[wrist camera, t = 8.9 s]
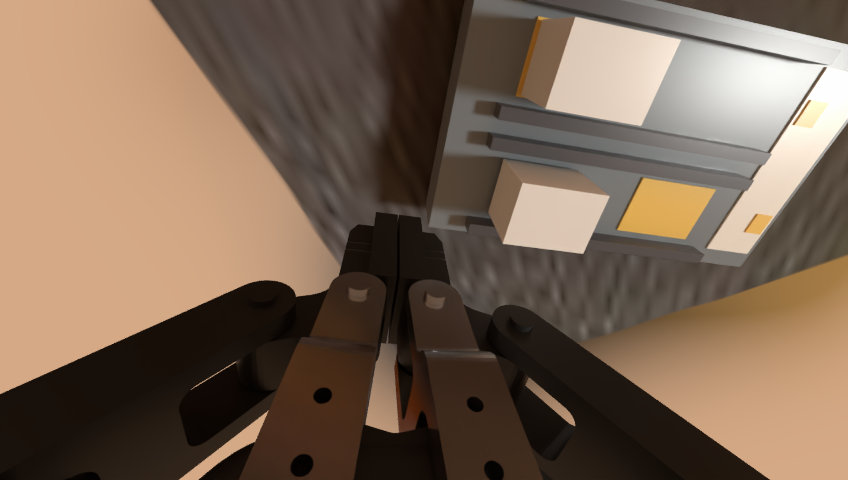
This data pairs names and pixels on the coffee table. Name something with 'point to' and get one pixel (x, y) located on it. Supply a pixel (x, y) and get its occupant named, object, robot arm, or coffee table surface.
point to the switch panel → (646, 127)
